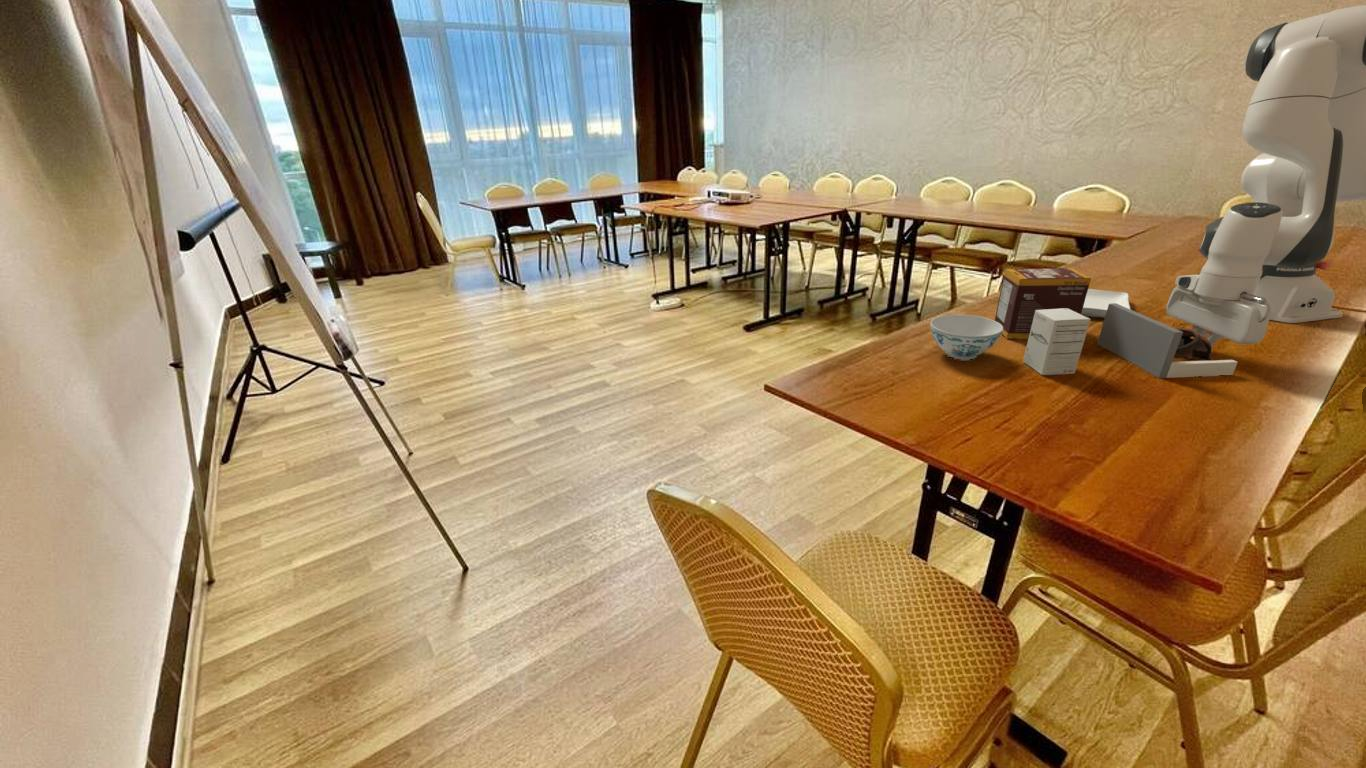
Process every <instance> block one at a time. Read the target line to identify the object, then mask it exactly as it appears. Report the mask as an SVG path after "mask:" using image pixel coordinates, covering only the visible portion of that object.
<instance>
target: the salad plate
mask: <svg viewBox="0 0 1366 768" xmlns="http://www.w3.org/2000/svg"><path fill="white" fill-rule="evenodd" d="M1129 298H1130V297H1129V293H1128V292H1123V291H1122V292H1121V291H1114V290H1113V291H1112V290H1111V291H1110V290H1102V289H1093V288H1092V289H1091V288H1088V291H1087V295H1086V298H1085V302H1084V306H1083V309H1082V312H1081V315H1083V316H1085V317H1089V316H1090V317H1091V318H1103V319H1105V316H1106V312H1107V309H1108V305H1109V304H1112V303H1116V304H1119V305H1121V306H1123V307H1126V308H1128V309H1130V310H1132V309H1131V305H1130V302H1129Z"/></svg>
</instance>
